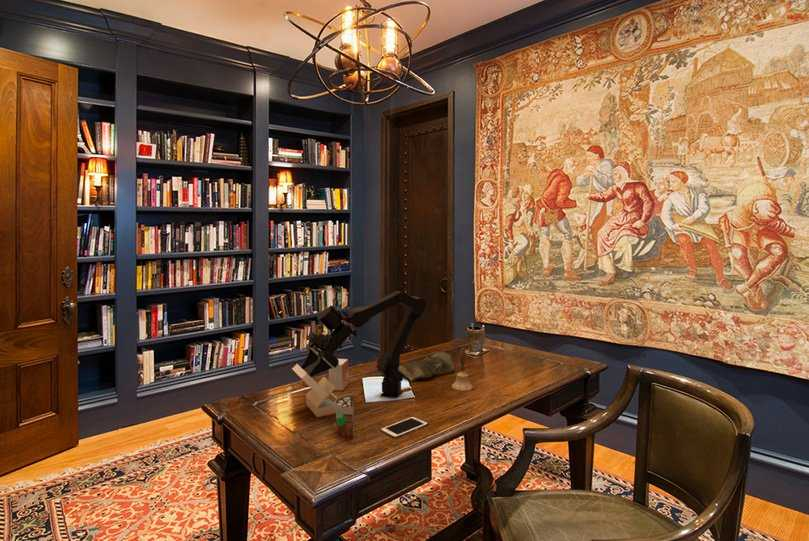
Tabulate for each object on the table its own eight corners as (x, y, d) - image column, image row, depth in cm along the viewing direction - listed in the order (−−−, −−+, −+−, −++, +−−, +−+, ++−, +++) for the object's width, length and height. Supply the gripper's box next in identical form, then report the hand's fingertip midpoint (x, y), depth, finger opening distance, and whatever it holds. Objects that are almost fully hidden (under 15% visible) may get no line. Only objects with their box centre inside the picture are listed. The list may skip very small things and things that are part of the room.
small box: (342, 391, 179) (341, 364, 178) (328, 390, 180) (328, 364, 179) (349, 384, 187) (348, 358, 186) (335, 383, 188) (335, 358, 187)
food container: (335, 423, 151) (334, 393, 150) (354, 422, 151) (353, 392, 150) (332, 440, 138) (331, 408, 137) (353, 439, 139) (352, 407, 138)
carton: (331, 399, 170) (331, 392, 170) (343, 411, 160) (343, 403, 159) (306, 404, 166) (306, 397, 166) (317, 417, 155) (316, 409, 155)
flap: (324, 377, 168) (303, 356, 164) (336, 387, 158) (314, 365, 153) (306, 396, 166) (285, 375, 161) (317, 408, 155) (294, 386, 151)
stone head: (385, 365, 201) (433, 350, 218) (389, 384, 201) (437, 368, 218) (411, 366, 186) (461, 350, 203) (415, 387, 186) (465, 369, 202)
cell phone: (379, 431, 145) (378, 428, 145) (413, 418, 155) (413, 415, 154) (394, 440, 139) (394, 437, 139) (429, 425, 149) (429, 423, 149)
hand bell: (477, 387, 183) (477, 347, 181) (464, 392, 177) (464, 352, 175) (460, 382, 188) (460, 344, 187) (447, 387, 182) (447, 348, 181)
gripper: (313, 318, 168) (282, 350, 163) (330, 328, 151) (296, 364, 147) (333, 338, 172) (303, 370, 168) (352, 350, 156) (320, 385, 151)
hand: (305, 372), depth 158 cm, fingers open, 9 cm apart
